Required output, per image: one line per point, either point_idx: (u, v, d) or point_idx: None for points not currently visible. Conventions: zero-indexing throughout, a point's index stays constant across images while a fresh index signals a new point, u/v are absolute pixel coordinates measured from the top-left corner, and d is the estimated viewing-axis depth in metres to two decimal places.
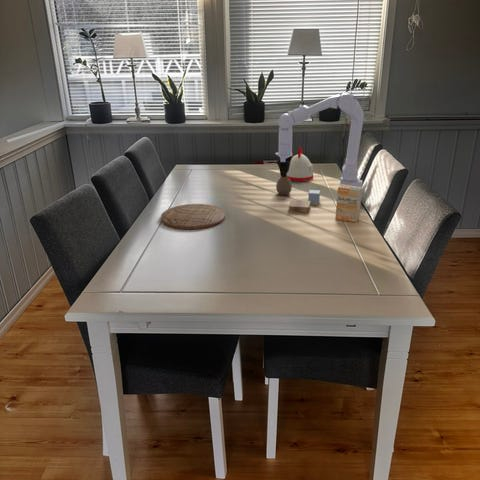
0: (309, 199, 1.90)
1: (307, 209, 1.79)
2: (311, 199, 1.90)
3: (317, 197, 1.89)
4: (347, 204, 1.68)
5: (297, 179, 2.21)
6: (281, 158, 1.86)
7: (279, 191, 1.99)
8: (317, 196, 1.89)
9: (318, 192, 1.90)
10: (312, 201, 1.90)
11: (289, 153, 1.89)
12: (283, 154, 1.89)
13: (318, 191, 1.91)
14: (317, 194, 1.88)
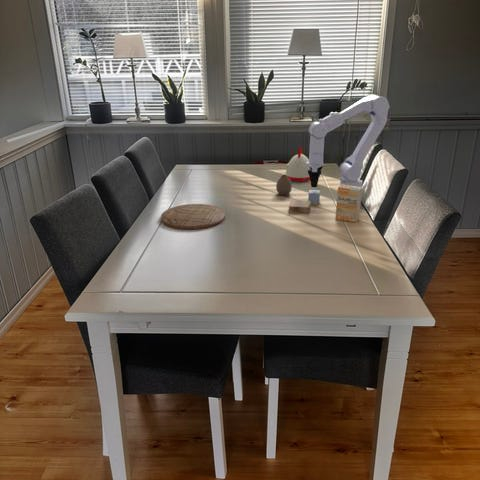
0: (309, 199, 1.90)
1: (307, 209, 1.79)
2: (311, 199, 1.90)
3: (317, 197, 1.89)
4: (347, 204, 1.68)
5: (297, 179, 2.21)
6: (313, 168, 1.79)
7: (279, 191, 1.99)
8: (317, 196, 1.89)
9: (318, 192, 1.90)
10: (312, 201, 1.90)
11: (320, 163, 1.83)
12: (314, 164, 1.83)
13: (318, 191, 1.91)
14: (317, 194, 1.88)
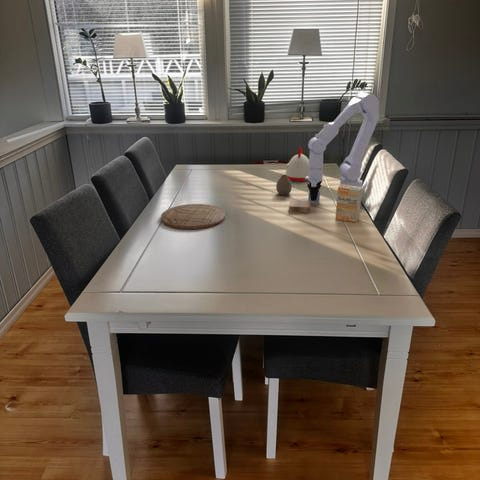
0: (309, 199, 1.90)
1: (307, 209, 1.79)
2: None
3: (317, 197, 1.89)
4: (347, 204, 1.68)
5: (297, 179, 2.21)
6: (312, 183, 1.82)
7: (279, 191, 1.99)
8: (317, 195, 1.89)
9: (318, 192, 1.90)
10: (312, 201, 1.90)
11: (319, 177, 1.86)
12: (313, 178, 1.85)
13: (318, 191, 1.91)
14: None
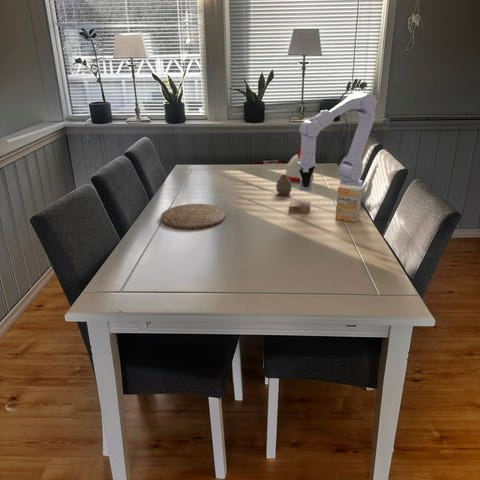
0: (301, 186, 1.82)
1: (307, 209, 1.79)
2: (302, 186, 1.82)
3: (309, 184, 1.81)
4: (347, 204, 1.68)
5: (297, 179, 2.21)
6: (304, 168, 1.74)
7: (279, 191, 1.99)
8: None
9: (310, 179, 1.82)
10: (304, 188, 1.82)
11: (312, 163, 1.78)
12: (306, 164, 1.77)
13: (310, 178, 1.83)
14: None
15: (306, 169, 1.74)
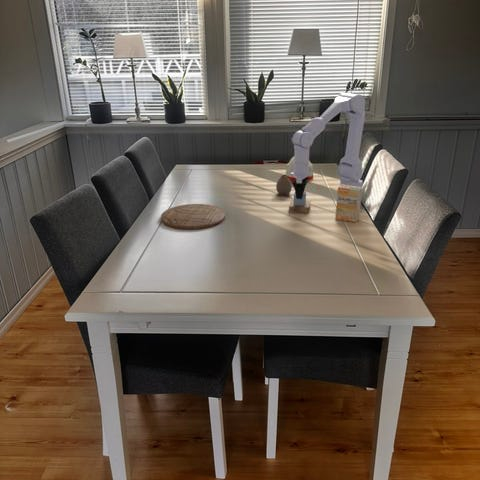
0: (294, 201, 1.80)
1: (307, 209, 1.79)
2: (296, 200, 1.80)
3: (303, 198, 1.79)
4: (347, 204, 1.68)
5: None
6: (297, 179, 1.71)
7: (279, 191, 1.99)
8: (303, 197, 1.79)
9: (304, 193, 1.80)
10: (298, 203, 1.80)
11: (305, 173, 1.75)
12: (299, 174, 1.75)
13: (304, 192, 1.81)
14: (303, 195, 1.79)
15: (299, 180, 1.71)
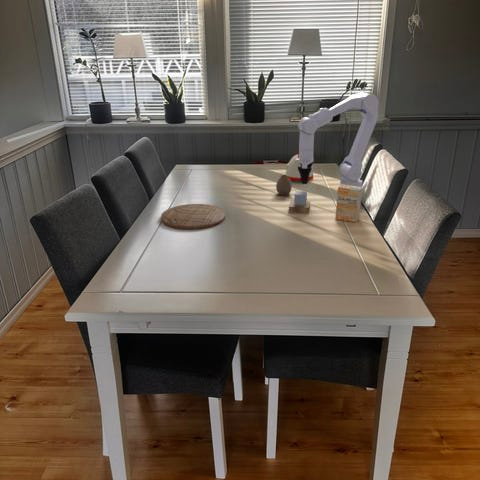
0: (295, 201, 1.80)
1: (307, 209, 1.79)
2: (297, 200, 1.80)
3: (303, 198, 1.79)
4: (347, 204, 1.68)
5: (297, 179, 2.21)
6: (303, 164, 1.76)
7: (279, 191, 1.99)
8: (303, 197, 1.79)
9: (305, 193, 1.80)
10: (298, 203, 1.80)
11: (310, 159, 1.80)
12: (304, 160, 1.80)
13: (305, 192, 1.81)
14: (303, 195, 1.79)
15: (305, 165, 1.76)
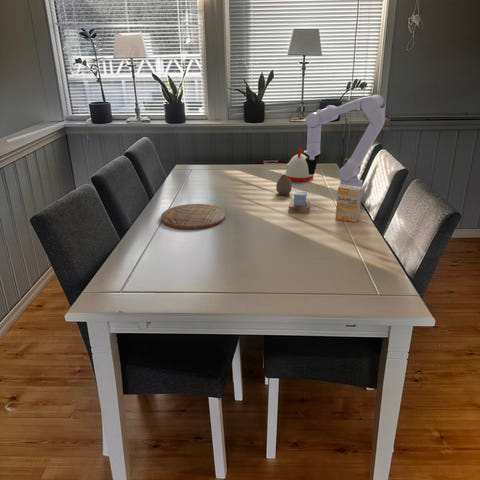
0: (295, 201, 1.80)
1: (307, 209, 1.78)
2: (297, 200, 1.80)
3: (303, 199, 1.79)
4: (347, 204, 1.68)
5: (297, 179, 2.21)
6: (310, 156, 1.89)
7: (279, 191, 1.99)
8: (303, 197, 1.79)
9: (304, 193, 1.80)
10: (298, 203, 1.80)
11: (317, 151, 1.93)
12: (312, 152, 1.92)
13: (304, 192, 1.81)
14: (303, 195, 1.79)
15: (312, 157, 1.89)
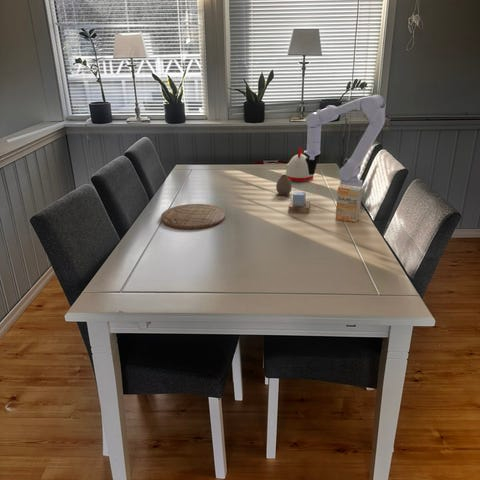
0: (293, 201, 1.80)
1: (307, 209, 1.78)
2: (295, 201, 1.80)
3: (302, 199, 1.79)
4: (347, 204, 1.68)
5: (297, 179, 2.21)
6: (310, 156, 1.89)
7: (279, 191, 1.99)
8: (302, 197, 1.79)
9: (303, 194, 1.79)
10: (297, 203, 1.80)
11: (317, 151, 1.93)
12: (312, 152, 1.92)
13: (303, 193, 1.81)
14: (302, 196, 1.78)
15: (312, 157, 1.89)
